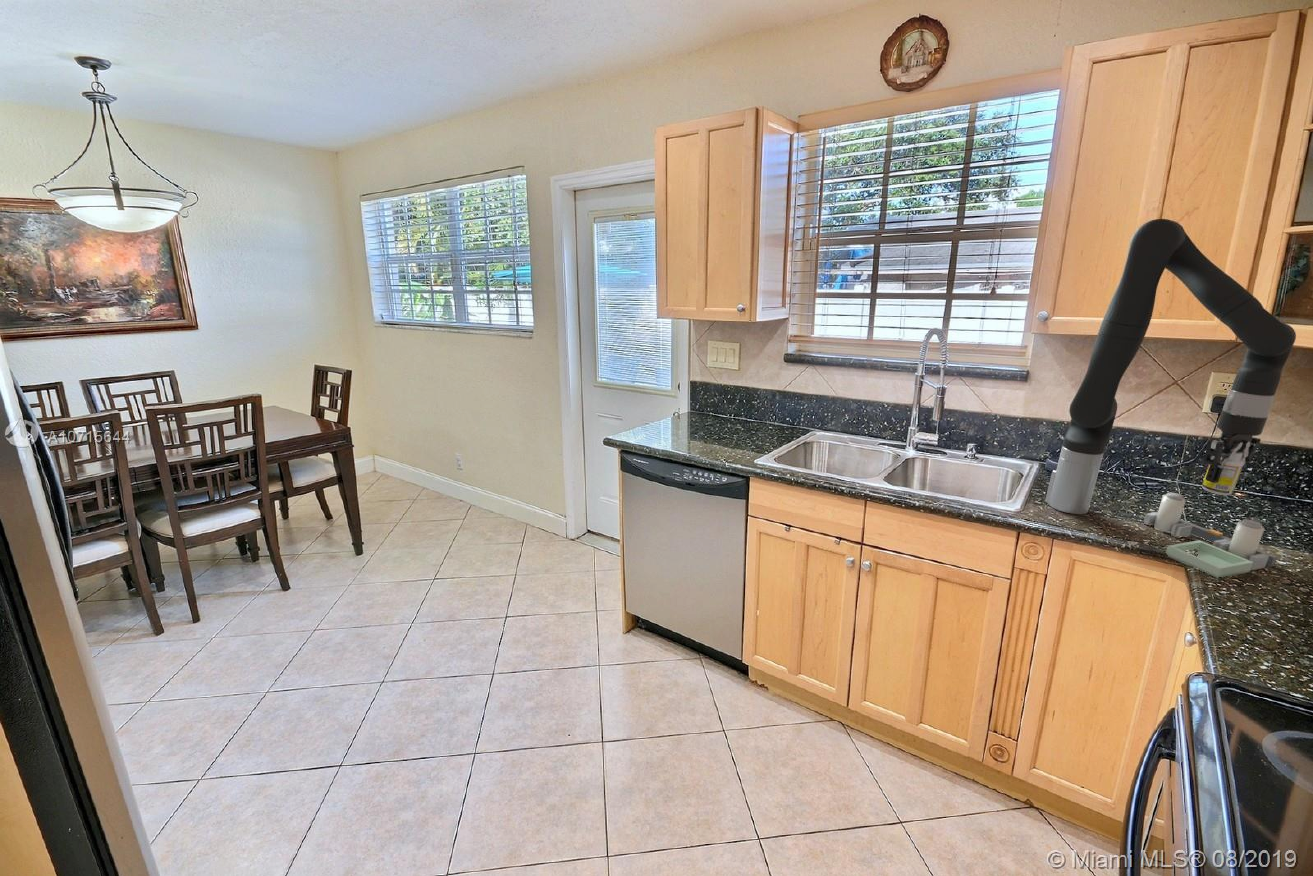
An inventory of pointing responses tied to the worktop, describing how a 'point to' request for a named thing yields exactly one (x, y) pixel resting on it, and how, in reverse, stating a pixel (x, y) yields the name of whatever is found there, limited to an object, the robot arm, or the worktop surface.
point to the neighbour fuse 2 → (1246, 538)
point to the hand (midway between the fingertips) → (1220, 480)
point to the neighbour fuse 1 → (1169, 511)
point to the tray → (1209, 559)
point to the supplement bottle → (1226, 477)
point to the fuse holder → (1214, 540)
